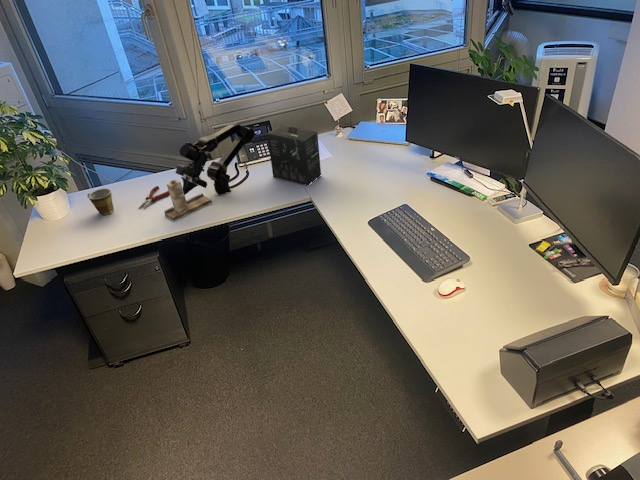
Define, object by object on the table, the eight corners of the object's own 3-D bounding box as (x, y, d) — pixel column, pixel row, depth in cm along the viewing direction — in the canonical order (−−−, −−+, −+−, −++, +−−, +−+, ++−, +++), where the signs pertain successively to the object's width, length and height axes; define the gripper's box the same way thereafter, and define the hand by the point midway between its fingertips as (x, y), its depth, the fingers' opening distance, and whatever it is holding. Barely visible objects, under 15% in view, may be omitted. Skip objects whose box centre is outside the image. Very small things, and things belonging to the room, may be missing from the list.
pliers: (132, 209, 224) (130, 204, 223) (157, 189, 239) (156, 184, 238) (151, 212, 220) (149, 207, 219) (175, 191, 235) (174, 187, 234)
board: (202, 197, 226) (201, 192, 225) (211, 202, 221) (210, 197, 220) (165, 215, 216) (163, 210, 214) (173, 220, 211) (172, 216, 209)
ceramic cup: (122, 207, 226) (115, 189, 220) (108, 218, 218) (100, 200, 212) (101, 204, 230) (93, 187, 224) (87, 215, 222) (78, 197, 216)
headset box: (322, 175, 233) (317, 127, 218) (309, 186, 225) (303, 136, 210) (286, 168, 244) (279, 121, 229) (272, 178, 236) (264, 130, 221)
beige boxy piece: (181, 204, 219) (173, 176, 211) (190, 209, 214) (182, 181, 206) (172, 208, 217) (163, 180, 208) (181, 214, 212) (172, 185, 203)
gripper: (173, 152, 212) (158, 182, 212) (195, 162, 200) (179, 194, 201) (192, 161, 221) (178, 190, 221) (214, 172, 209) (199, 203, 210)
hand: (183, 194), depth 213 cm, fingers closed, pressing on beige boxy piece
